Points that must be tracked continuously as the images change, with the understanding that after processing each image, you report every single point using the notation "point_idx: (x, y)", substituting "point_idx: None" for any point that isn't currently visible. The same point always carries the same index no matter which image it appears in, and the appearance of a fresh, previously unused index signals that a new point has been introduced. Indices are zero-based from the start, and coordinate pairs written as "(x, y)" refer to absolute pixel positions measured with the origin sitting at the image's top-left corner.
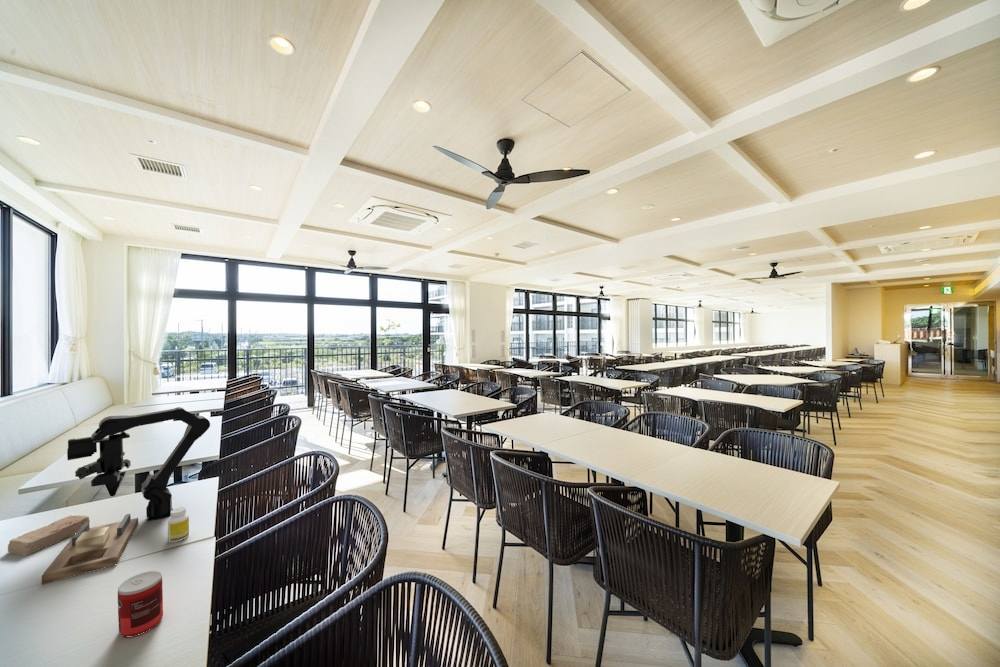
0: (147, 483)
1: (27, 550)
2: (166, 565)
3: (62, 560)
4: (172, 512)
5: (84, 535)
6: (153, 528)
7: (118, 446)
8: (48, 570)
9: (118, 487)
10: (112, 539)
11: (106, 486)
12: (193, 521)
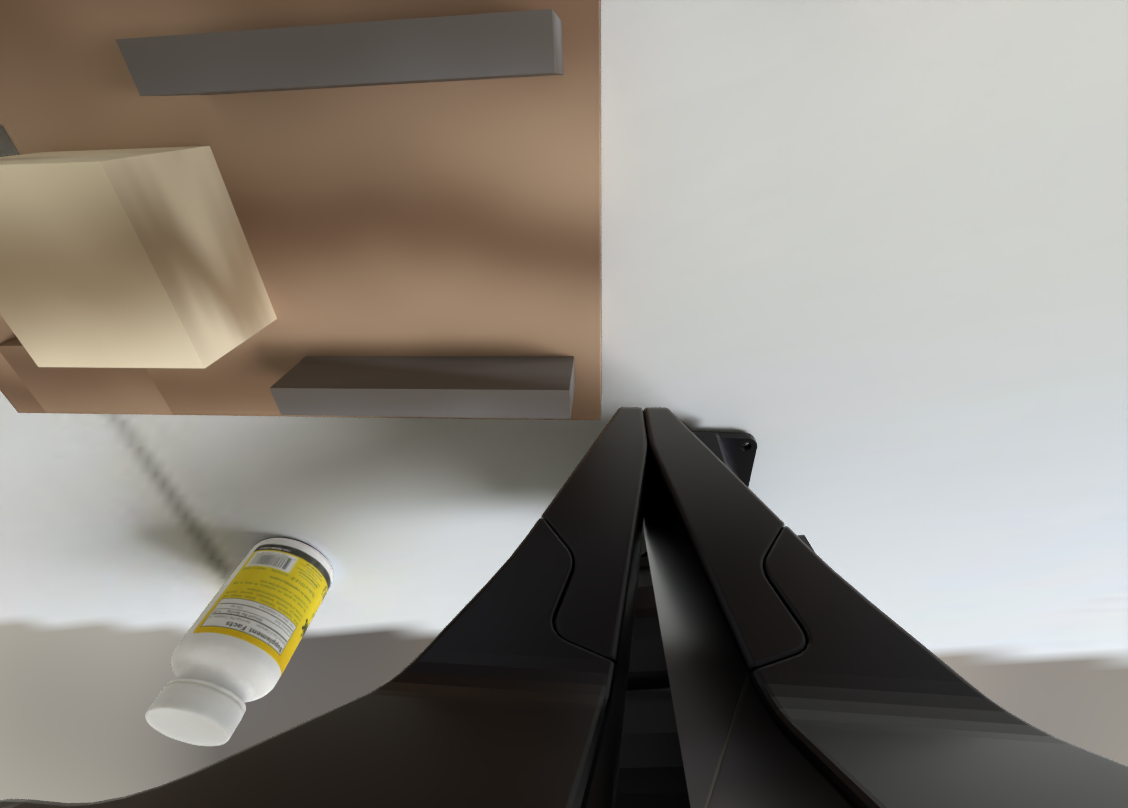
0: (650, 774)
1: None
2: (61, 543)
3: None
4: (154, 713)
5: (22, 211)
6: (476, 469)
7: None
8: None
9: (656, 605)
10: (252, 341)
11: (494, 588)
12: (469, 598)
